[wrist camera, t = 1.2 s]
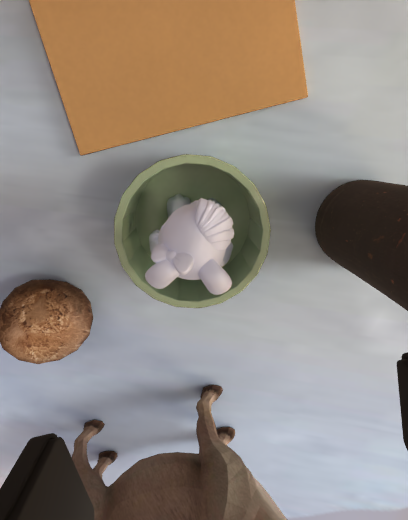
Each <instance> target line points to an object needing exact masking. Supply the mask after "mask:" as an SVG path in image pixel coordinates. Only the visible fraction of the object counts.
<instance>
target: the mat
mask: <svg viewBox="0 0 408 520" xmlns="http://www.w3.org/2000/svg"><path fill="white" fill-rule="evenodd" d="M29 2H30V5H31V8H32V11H33V14H34V17H35V20H36V23H37V26H38V29H39V32H40V35H41V38H42V41H43V44H44V47H45V50H46V53H47V56H48V59H49V62H50V65H51V68H52V71H53V74H54V77H55V80H56V83H57V86H58V89H59V92H60V95H61V98H62V101H63V104H64V107H65V110H66V113H67V116H68V119H69V122H70V125H71V128H72V131H73V134H74V137H75V140H76V143H77V146H78V149H79V152H80V155H85V154H89V153H93V152H97V151H101V150H105V149H108V148H112V147H116V146H120V145H124V144H128V143H132V142H136V141H139V140H143V139H147V138H151V137H155V136H159V135H163V134H167V133H171V132H174V131H178V130H182V129H186V128H190V127H194V126H198V125H202V124H205V123H209V122H213V121H217V120H221V119H225V118H229V117H233V116H236V115H240V114H244V113H248V112H252V111H256V110H260V109H264V108H267V107H271V106H275V105H279V104H283V103H287V102H291V101H295V100H299V99H302V98H306V97H308V93H307V86H306V78H305V71H304V64H303V57H302V50H301V43H300V35H299V28H298V21H297V14H296V7H295V0H29Z"/></svg>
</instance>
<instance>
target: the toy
mask: <svg viewBox="0 0 408 520" xmlns="http://www.w3.org/2000/svg"><path fill="white" fill-rule="evenodd" d="M222 391H223V390H222V387H221V386H217V385H210V386H207V387H204V388H203V390H202V394H201V396H200V397H201V399H200V400H199V401H198V402H197V407H196V409H197V412H198V416H199V418H198V421H197V428H196V432H197V438H198V442H199V454H194V453H180V452H175V453H163V454H157V455H154V456H151V457H148V458H145V459H142V460H139V461H138V462H137V463H136V464H134V465H133V466H132V467H131V468H129V469H128V470H127V471H126V472H124V473H123V474H122V475H121V476H120V477H119V478H118V479H117V480H116V481H115V482H114V483H113V484H111V485H110V486H109V487H107V486H105V484H104V482H103V480H102V473H103V472H104V471H105V469H106V468H107V466H108V465H110V464H111V463H113V462H114V461H115V459H116V458H117V453H116V452H114V451H105V452H102V453H100V454H99V460H98V463H97V465H96V466H95V467H94V469H92V468H91V467H90V464H89V462H88V458H87V443H88V441H89V440H90V439H91V437H92V436H94V435H95V434H96V435H97V433H98V432H100V431H101V430H102V428H103V427H104V423H103V422H102V421H98V420H92V421H89V422H87V423H85V425H84V428H83V429H84V431H83V432H82V433H81V434H80V435H79V436H78V438H77V439H76V440H75V443H74V452H73V455H72V460H73V462H74V464H75V467H76V469H77V471H78V473H79V476H80V478H81V480H82V482H83V485H84V487H85V489H86V491H87V494H88V496H89V498H90V500H91V502H92V505H93V507H94V520H287V519H286V518H285V516H284V515H283V513H282V512H281V511H280V509H279V508H278V507H277V505H276V504H275V502H274V501H273V500H272V498H271V497H270V495H269V494H268V493H267V492H266V490H265V489H264V488H263V487H262V485H261V484H260V483H259V482H258V481H257V480H256V479H255V478H254V477H253V476H252V474H251V472H250V471H249V470H248V468H247V467H246V466H245V465H244V463H243V461H242V459H241V458H240V457H239V456H238V455H237V454H236V453H235V452H234V451H233V450H232V449H231V448H229V447H228V446H227V444H228V443H229V442H231V440H232V439H233V438H234V436H235V430H234V429H233V428H230V427H221V428H219V429H217V430H216V426H215V423H214V420H213V417H212V414H211V405H212V403H213V402H214V401H215V400H217V399H218V397H219V396H220V395H221V393H222Z"/></svg>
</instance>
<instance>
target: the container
mask: <svg viewBox="0 0 408 520" xmlns="http://www.w3.org/2000/svg"><path fill="white" fill-rule="evenodd" d="M315 231H316V237H317V240H318V243H319V245H320V247H321V248H322V250H323V251H324V252H325V253H326V254H327V255H328V256H329V257H330V258H331V259H332V260H334V261H335V262H336V263H338V264H339V265H341V266H343V267H344V268H346V269H347V270H349V271H350V272H352V273H353V274H355V275H356V276H358V277H359V278H361V279H362V280H364V281H365V282H367V283H368V284H370V285H371V286H373V287H374V288H376V289H377V290H379V291H380V292H382V293H383V294H385V295H386V296H387V297H389V298H390V299H392V300H393V301H395V302H396V303H397V304H399V305H400V306H402V307H403V308H405V309H406V310H407V311H408V186H405V185H398V184H392V183H385V182H379V181H370V180H357V181H352V182H348V183H346V184H343V185H341V186H339V187H338V188H336V189H335V190H333V191H332V192H331V193H330V194H329V195H328V196H327V197H326V199H325V200H324V201H323V203H322V204H321V206H320V208H319V210H318V213H317V217H316V222H315Z"/></svg>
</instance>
